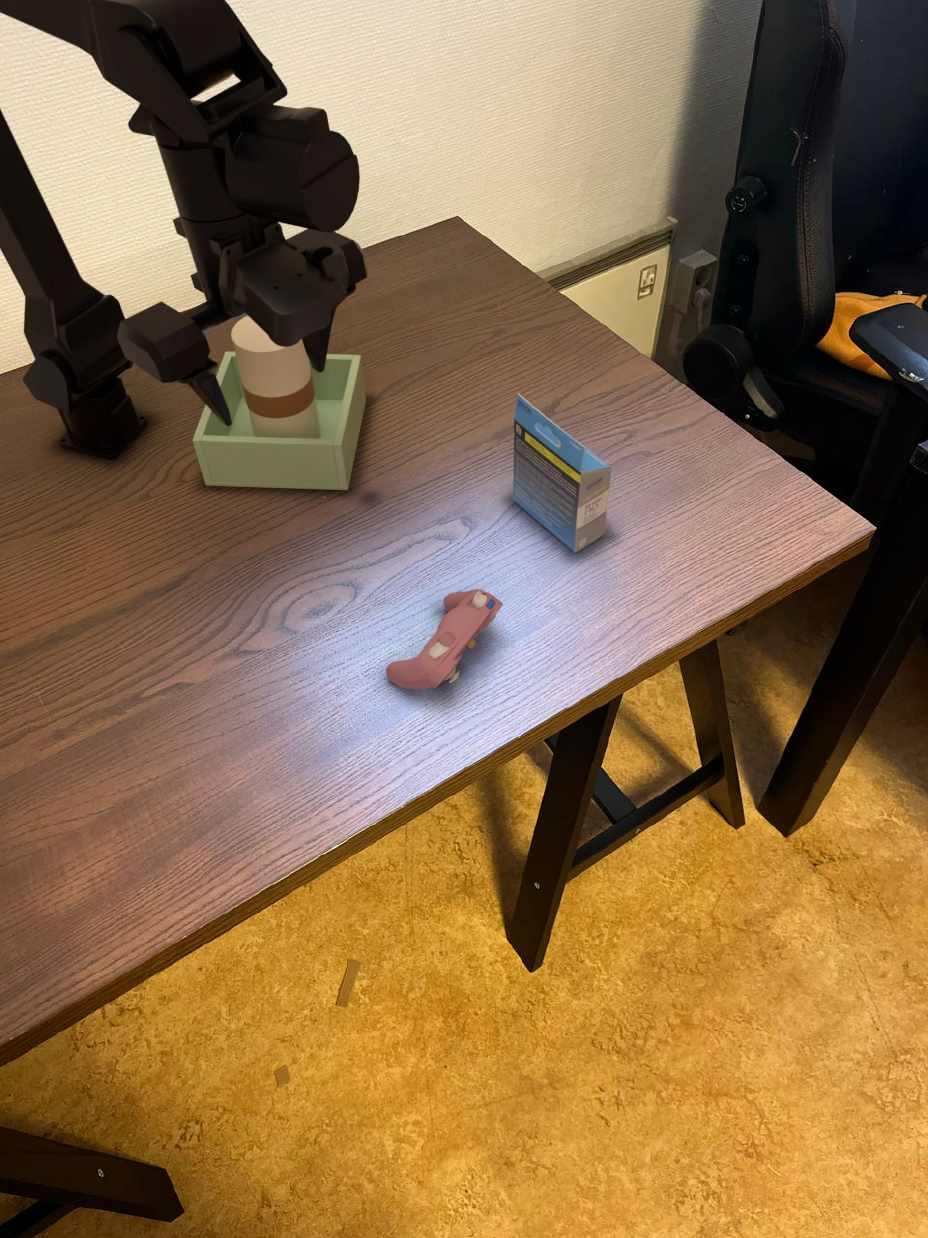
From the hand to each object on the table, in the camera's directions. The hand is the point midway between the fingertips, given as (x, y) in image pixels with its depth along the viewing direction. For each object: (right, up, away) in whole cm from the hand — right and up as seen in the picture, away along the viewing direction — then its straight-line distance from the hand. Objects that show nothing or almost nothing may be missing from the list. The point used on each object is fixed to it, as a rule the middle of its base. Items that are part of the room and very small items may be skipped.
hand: (274, 396), depth 75 cm
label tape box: (+24, -9, +11) cm, 27 cm away
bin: (-2, 0, +18) cm, 18 cm away
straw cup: (-2, 0, +17) cm, 18 cm away
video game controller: (+14, -21, +1) cm, 25 cm away
